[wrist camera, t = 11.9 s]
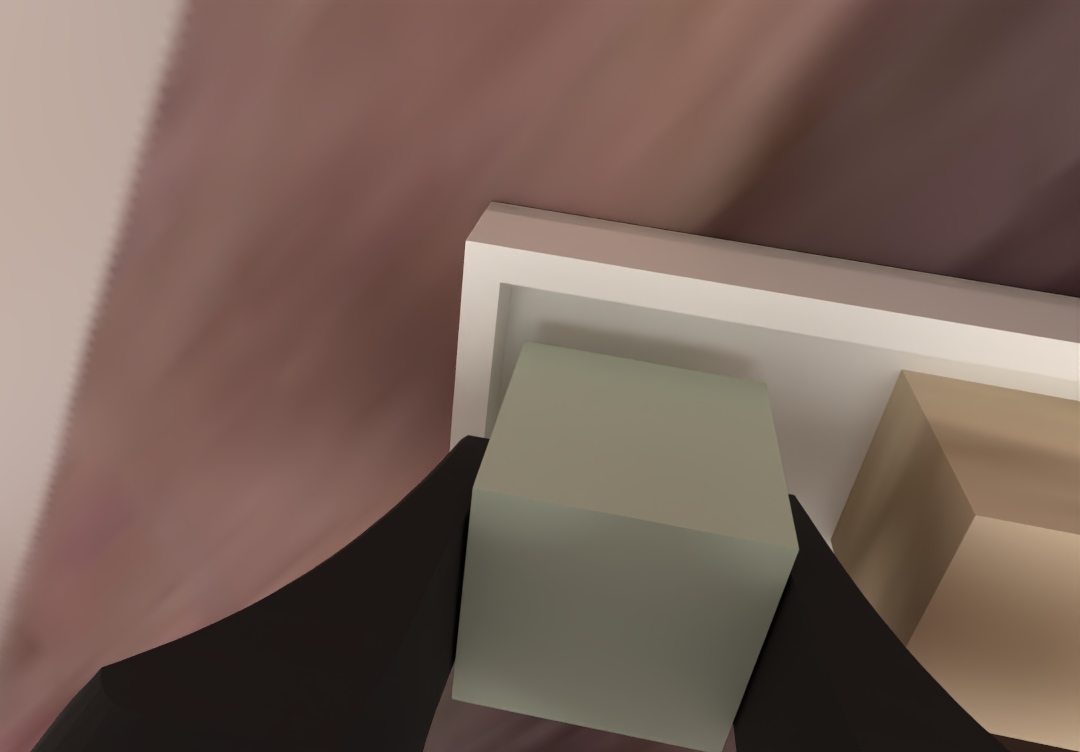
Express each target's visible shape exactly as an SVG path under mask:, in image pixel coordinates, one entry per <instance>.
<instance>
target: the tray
mask: <svg viewBox="0 0 1080 752" xmlns="http://www.w3.org/2000/svg"><path fill="white" fill-rule="evenodd" d="M524 341H530V342H536V343H541V344H547V345H553V346H558V347H564V348H570V349H575V350H581V351H587V352H592V353H598V354H603V355H609V356H615V357H620V358H626V359H632V360H637V361H643V362H649V363H654V364H660V365H666V366H671V367H677V368H682V369H688V370H694V371H699V372H705V373H711V374H716V375H722V376H728V377H733V378H739V379H745V380H750V381H756V382H762V383H766V387H767V392H768V397H769V402H770V407H771V412H772V417H773V422H774V427H775V432H776V437H777V442H778V447H779V452H780V457H781V462H782V467H783V472H784V477H785V482H786V486H787V491H788V494H792V495H795V496H796V498H797V499H798V501H799V502H800V504H801V505H802V507H803V508H804V510H805V511H806V513H807V514H808V516H809V517H810V519H811V520H812V522H813V523H814V525H815V526H816V528H817V529H818V531H819V532H820V534H821V535H822V537H823V538H824V540H825V541H826V543H827V544H828V545H829V547H830V548H831V550H832V551H833V548H832V544H831V538H832V535H833V533H834V530H835V528H836V526H837V523H838V521H839V518H840V516H841V514H842V511H843V509H844V506H845V504H846V502H847V499H848V497H849V494H850V492H851V490H852V487H853V485H854V482H855V480H856V478H857V475H858V473H859V470H860V468H861V466H862V463H863V461H864V458H865V456H866V454H867V451H868V449H869V446H870V444H871V442H872V439H873V437H874V434H875V432H876V430H877V427H878V425H879V422H880V420H881V418H882V415H883V413H884V410H885V408H886V406H887V403H888V401H889V398H890V396H891V394H892V391H893V389H894V386H895V384H896V382H897V379H898V377H899V374H900V372H901V370H902V369H904V370H910V371H915V372H921V373H926V374H932V375H937V376H943V377H949V378H954V379H960V380H965V381H971V382H976V383H982V384H987V385H993V386H998V387H1004V388H1010V389H1015V390H1021V391H1026V392H1032V393H1037V394H1043V395H1048V396H1054V397H1059V398H1065V399H1071V400H1076V401H1080V298H1077V297H1070V296H1064V295H1058V294H1052V293H1046V292H1040V291H1034V290H1028V289H1022V288H1016V287H1010V286H1004V285H997V284H991V283H985V282H979V281H973V280H967V279H961V278H955V277H949V276H943V275H937V274H931V273H924V272H918V271H912V270H906V269H900V268H894V267H888V266H882V265H876V264H870V263H864V262H858V261H851V260H845V259H839V258H833V257H827V256H821V255H815V254H809V253H803V252H797V251H791V250H785V249H778V248H772V247H766V246H760V245H754V244H748V243H742V242H736V241H730V240H724V239H718V238H712V237H705V236H699V235H693V234H687V233H681V232H675V231H669V230H663V229H657V228H651V227H645V226H639V225H632V224H626V223H620V222H614V221H608V220H602V219H596V218H590V217H584V216H578V215H572V214H566V213H560V212H553V211H547V210H541V209H535V208H529V207H523V206H517V205H511V204H505V203H499V202H493V201H491V202H490V204H489V205H488V207H487V208H486V210H485V211H484V213H483V214H482V216H481V218H480V219H479V221H478V222H477V224H476V225H475V227H474V228H473V230H472V232H471V233H470V235H469V236H468V238H467V239H466V244H465V257H464V270H463V283H462V296H461V309H460V322H459V335H458V348H457V362H456V375H455V388H454V401H453V414H452V427H451V440H450V451H451V450H452V449H453V448H454V447H455V446H456V444H457V443H458V442H459V441H460V440H461V439H462V438H464V437H466V436H467V435H471V436H476V437H482V438H487V439H490V437H491V434H492V432H493V429H494V426H495V423H496V420H497V417H498V415H499V412H500V409H501V406H502V403H503V400H504V398H505V395H506V392H507V389H508V386H509V383H510V381H511V378H512V375H513V372H514V369H515V366H516V363H517V361H518V358H519V355H520V352H521V349H522V346H523V344H524ZM833 553H834V552H833Z"/></svg>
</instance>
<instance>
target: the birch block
mask: <svg viewBox="0 0 1080 752" xmlns="http://www.w3.org/2000/svg"><path fill="white" fill-rule="evenodd" d="M831 544H832V548H833V552H834V554H835V556H836V557H837V559H838V560H839V562H840V563H841V564H842V566H843V567H844V569H845V570H846V572H847V573H848V574H849V576H850V577H851V578H852V580H853V581H854V583H855V584H856V585H857V587H858V588H859V589H860V591H861V592H862V593H863V595H864V596H865V597H866V599H867V600H868V601H869V603H870V604H871V605H872V606H873V608H874V609H875V610H876V612H877V613H878V614H879V615H880V617H881V618H882V619H883V620H884V622H885V623H886V624H887V625H888V626H889V628H890V629H891V630H892V631H893V632H894V634H895V635H896V636H897V637H898V639H899V640H900V641H901V642H902V643H903V645H904V646H905V647H906V648H907V649H908V650H909V652H910V653H911V654H912V655H913V656H914V657H915V658H916V659H917V661H918V662H919V663H920V664H921V665H922V666H923V667H924V668H925V669H926V670H927V671H928V672H929V673H930V675H931V676H932V677H933V678H934V679H935V680H936V681H937V682H938V683H939V684H940V685H941V686H942V687H943V688H944V689H945V690H946V691H947V692H948V693H949V694H950V696H951V697H952V698H953V699H954V700H955V701H956V702H957V703H958V704H959V705H960V706H961V707H962V708H963V709H964V710H965V711H966V712H967V713H969V714H970V715H971V716H972V717H973V718H974V719H975V720H976V721H977V722H978V723H979V724H980V725H981V726H982V727H983V728H984V729H985V730H987V731H988V732H989V733H992V734H997V735H1002V736H1007V737H1012V738H1017V739H1021V740H1026V741H1031V742H1036V743H1041V744H1046V745H1051V746H1055V747H1060V748H1065V749H1070V750H1075V751H1080V401H1076V400H1071V399H1065V398H1059V397H1054V396H1048V395H1043V394H1037V393H1032V392H1026V391H1021V390H1015V389H1010V388H1004V387H998V386H993V385H987V384H982V383H976V382H971V381H965V380H960V379H954V378H949V377H943V376H937V375H932V374H926V373H921V372H915V371H910V370H904V369H902V370H901V372H900V374H899V377H898V379H897V382H896V384H895V386H894V389H893V391H892V394H891V396H890V398H889V401H888V403H887V406H886V408H885V410H884V413H883V415H882V418H881V420H880V422H879V425H878V427H877V430H876V432H875V434H874V437H873V439H872V442H871V444H870V446H869V449H868V451H867V454H866V456H865V458H864V461H863V463H862V466H861V468H860V470H859V473H858V475H857V478H856V480H855V482H854V485H853V487H852V490H851V492H850V494H849V497H848V499H847V502H846V504H845V506H844V509H843V511H842V514H841V516H840V518H839V521H838V523H837V526H836V528H835V530H834V533H833V535H832V538H831Z"/></svg>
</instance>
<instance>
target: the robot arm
mask: <svg viewBox="0 0 1080 752" xmlns="http://www.w3.org/2000/svg"><path fill="white" fill-rule="evenodd" d="M489 440H490V439H487V438H482V437H476V436H471V435H467V436H466V437H464V438H462V439H461V440H460V441H459V442H458V443H457V444H456V446H455V447H454V448H453V449H452V450H451V451H450V452H449V454H448V455H447V456H446V457H445V458H444V459H443V460H442V461H441V462H440V463H439V464H438V465H437V466H436V467H435V468H434V470H433V471H432V472H431V473H430V474H429V475H428V476H427V477H426V478H425V479H424V480H423V481H422V482H421V483H419V484H418V485H417V486H416V487H415V488H414V489H413V490H412V491H411V492H410V493H409V494H408V495H407V496H406V497H404V498H403V499H402V500H401V501H400V502H399V503H398V504H397V505H396V506H395V507H394V508H392V509H391V510H390V511H389V512H388V513H387V514H385V515H384V516H383V517H382V518H380V519H379V520H378V521H377V522H376V523H374V524H373V525H372V526H371V527H369V528H368V529H367V530H366V531H365V532H363V533H362V534H361V535H360V536H358V537H357V538H356V539H355V540H353V541H352V542H351V543H349V544H348V545H347V546H345V547H344V548H342V549H341V550H340V551H338V552H337V553H336V554H334V555H333V556H331V557H330V558H328V559H327V560H325V561H324V562H322V563H321V564H319V565H318V566H316V567H315V568H314V569H312V570H310V571H309V572H307V573H306V574H304V575H302V576H301V577H299V578H297V579H296V580H294V581H292V582H291V583H289V584H287V585H286V586H284V587H283V588H281V589H279V590H278V591H276V592H274V593H272V594H271V595H269V596H267V597H265V598H264V599H262V600H260V601H258V602H256V603H254V604H252V605H251V606H249V607H247V608H245V609H243V610H241V611H238V612H236V613H234V614H232V615H230V616H228V617H226V618H224V619H222V620H220V621H218V622H216V623H214V624H211V625H209V626H207V627H205V628H203V629H200V630H198V631H196V632H194V633H191V634H189V635H187V636H184V637H182V638H179V639H177V640H175V641H172V642H169V643H167V644H164V645H161V646H159V647H156V648H154V649H151V650H148V651H146V652H143V653H140V654H138V655H135V656H132V657H130V658H127V659H125V660H122V661H119V662H116V663H113V664H111V665H108V666H105V667H102V668H101V669H100V670H99V671H98V672H97V673H96V675H95V676H94V677H93V678H92V679H91V680H90V681H89V682H88V683H87V684H86V685H85V686H84V687H83V688H82V689H81V690H80V691H79V692H78V693H77V695H76V696H75V697H74V698H73V699H72V700H71V701H70V702H69V704H68V705H67V706H66V707H65V708H64V710H63V711H62V712H61V713H60V714H59V716H58V717H57V718H56V719H55V721H54V722H53V723H52V725H51V726H50V727H49V729H48V730H47V731H46V732H45V734H44V735H43V736H42V738H41V739H40V740H39V742H38V743H37V744H36V745H35V747H34V748H33V749H32V751H31V752H423V749H424V745H425V742H426V738H427V735H428V732H429V729H430V726H431V723H432V720H433V717H434V714H435V711H436V708H437V706H438V703H439V701H440V698H441V695H442V693H443V690H444V687H445V685H446V682H447V679H448V677H449V674H450V671H451V669H452V666H453V664H454V661H455V658H456V649H457V639H458V629H459V620H460V610H461V600H462V590H463V580H464V570H465V560H466V550H467V540H468V530H469V520H470V510H471V500H472V490H473V486H474V483H475V480H476V477H477V474H478V471H479V469H480V466H481V463H482V460H483V457H484V454H485V451H486V449H487V446H488V443H489ZM788 496H789V501H790V506H791V511H792V516H793V521H794V526H795V531H796V536H797V541H798V546H799V551H798V554H797V556H796V559H795V562H794V564H793V567H792V569H791V572H790V575H789V577H788V580H787V582H786V585H785V588H784V590H783V593H782V595H781V598H780V601H779V603H778V606H777V609H776V611H775V614H774V616H773V619H772V622H771V624H770V627H769V629H768V632H767V635H766V637H765V640H764V642H763V645H762V648H761V650H760V653H759V656H758V658H757V661H756V663H755V666H754V669H753V671H752V674H751V676H750V679H749V682H748V684H747V687H746V689H745V692H744V695H743V697H742V700H741V702H740V705H739V708H738V710H737V713H736V716H735V718H734V721H733V725H734V733H735V741H736V749H737V752H1010V751H1008V750H1007V749H1006V748H1005V747H1004V746H1003V745H1002V744H1001V743H1000V742H999V741H997V740H996V739H995V738H994V737H993V736H992V735H991V734H990V733H989V732H988V731H987V730H985V729H984V728H983V727H982V726H981V725H980V724H979V723H978V722H977V721H976V720H975V719H974V718H973V717H972V716H971V715H970V714H969V713H967V712H966V711H965V710H964V709H963V708H962V707H961V706H960V705H959V704H958V703H957V702H956V701H955V700H954V699H953V698H952V697H951V696H950V694H949V693H948V692H947V691H946V690H945V689H944V688H943V687H942V686H941V685H940V684H939V683H938V682H937V681H936V680H935V679H934V678H933V677H932V676H931V675H930V673H929V672H928V671H927V670H926V669H925V668H924V667H923V666H922V665H921V664H920V663H919V662H918V661H917V659H916V658H915V657H914V656H913V655H912V654H911V653H910V652H909V650H908V649H907V648H906V647H905V646H904V645H903V643H902V642H901V641H900V640H899V639H898V637H897V636H896V635H895V634H894V632H893V631H892V630H891V629H890V628H889V626H888V625H887V624H886V623H885V622H884V620H883V619H882V618H881V617H880V615H879V614H878V613H877V612H876V610H875V609H874V608H873V606H872V605H871V604H870V603H869V601H868V600H867V599H866V597H865V596H864V595H863V593H862V592H861V591H860V589H859V588H858V587H857V585H856V584H855V583H854V581H853V580H852V578H851V577H850V576H849V574H848V573H847V572H846V570H845V569H844V567H843V566H842V564H841V563H840V562H839V560H838V559H837V557H836V556H835V554H834V553H833V551H832V550H831V548H830V547H829V545H828V544H827V543H826V541H825V540H824V538H823V537H822V535H821V534H820V532H819V531H818V529H817V528H816V526H815V525H814V523H813V522H812V520H811V519H810V517H809V516H808V514H807V513H806V511H805V510H804V508H803V507H802V505H801V504H800V502H799V501H798V499H797V498H796V496H795V495H792V494H788Z"/></svg>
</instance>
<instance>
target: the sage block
mask: <svg viewBox="0 0 1080 752" xmlns="http://www.w3.org/2000/svg"><path fill="white" fill-rule="evenodd" d="M798 551H799V546H798V541H797V536H796V531H795V526H794V521H793V516H792V511H791V506H790V501H789V496H788V491H787V486H786V482H785V477H784V472H783V467H782V462H781V457H780V452H779V447H778V442H777V437H776V432H775V427H774V422H773V417H772V412H771V407H770V402H769V397H768V392H767V387H766V383H762V382H756V381H750V380H745V379H739V378H733V377H728V376H722V375H716V374H711V373H705V372H699V371H694V370H688V369H682V368H677V367H671V366H666V365H660V364H654V363H649V362H643V361H637V360H632V359H626V358H620V357H615V356H609V355H603V354H598V353H592V352H587V351H581V350H575V349H570V348H564V347H558V346H553V345H547V344H541V343H536V342H530V341H524V344H523V346H522V349H521V352H520V355H519V358H518V361H517V363H516V366H515V369H514V372H513V375H512V378H511V381H510V383H509V386H508V389H507V392H506V395H505V398H504V400H503V403H502V406H501V409H500V412H499V415H498V417H497V420H496V423H495V426H494V429H493V432H492V434H491V437H490V440H489V443H488V446H487V449H486V451H485V454H484V457H483V460H482V463H481V466H480V469H479V471H478V474H477V477H476V480H475V483H474V486H473V490H472V500H471V510H470V520H469V530H468V540H467V550H466V560H465V570H464V580H463V590H462V600H461V610H460V620H459V629H458V639H457V649H456V659H455V669H454V679H453V689H452V699H454V700H458V701H463V702H468V703H473V704H478V705H483V706H487V707H492V708H497V709H502V710H507V711H512V712H516V713H521V714H526V715H531V716H536V717H541V718H546V719H550V720H555V721H560V722H565V723H570V724H575V725H579V726H584V727H589V728H594V729H599V730H604V731H608V732H613V733H618V734H623V735H628V736H633V737H637V738H642V739H647V740H652V741H657V742H662V743H666V744H671V745H676V746H681V747H686V748H691V749H695V750H700V751H705V752H722V749H723V747H724V744H725V742H726V739H727V736H728V734H729V731H730V729H731V726H732V723H733V721H734V718H735V716H736V713H737V710H738V708H739V705H740V702H741V700H742V697H743V695H744V692H745V689H746V687H747V684H748V682H749V679H750V676H751V674H752V671H753V669H754V666H755V663H756V661H757V658H758V656H759V653H760V650H761V648H762V645H763V642H764V640H765V637H766V635H767V632H768V629H769V627H770V624H771V622H772V619H773V616H774V614H775V611H776V609H777V606H778V603H779V601H780V598H781V595H782V593H783V590H784V588H785V585H786V582H787V580H788V577H789V575H790V572H791V569H792V567H793V564H794V562H795V559H796V556H797V554H798Z"/></svg>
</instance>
